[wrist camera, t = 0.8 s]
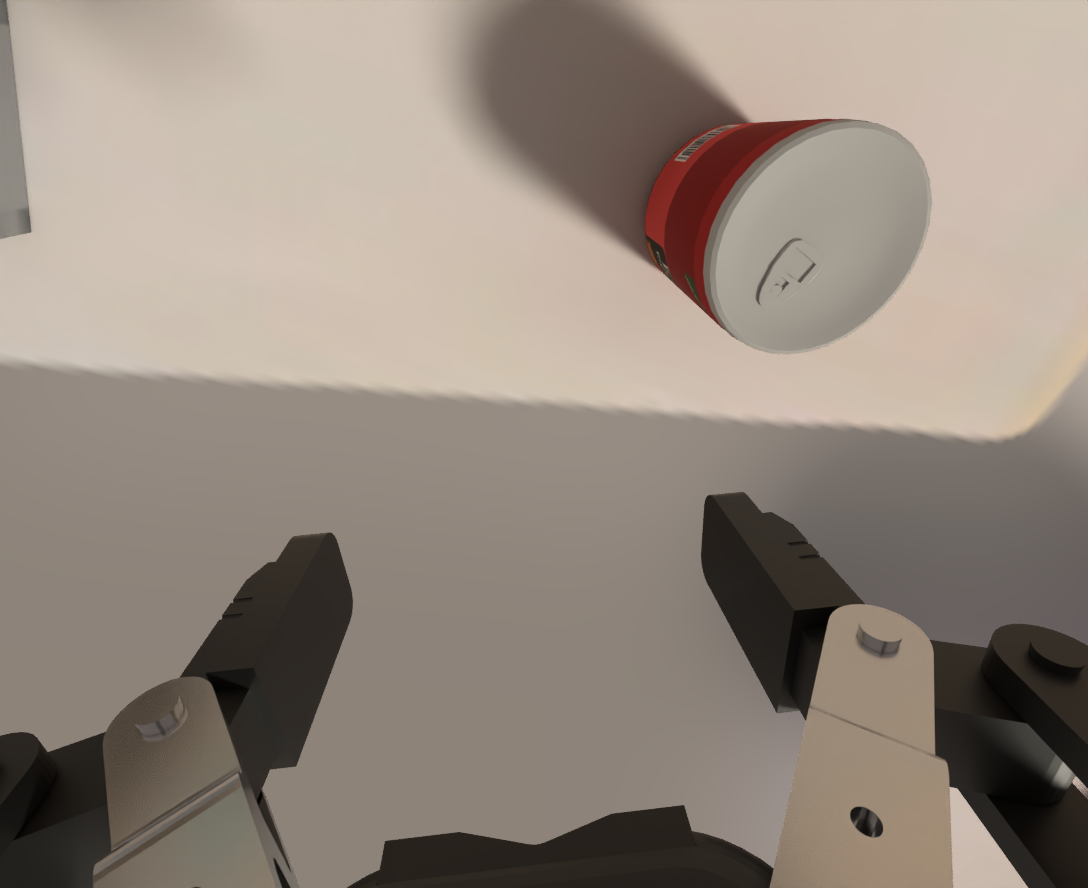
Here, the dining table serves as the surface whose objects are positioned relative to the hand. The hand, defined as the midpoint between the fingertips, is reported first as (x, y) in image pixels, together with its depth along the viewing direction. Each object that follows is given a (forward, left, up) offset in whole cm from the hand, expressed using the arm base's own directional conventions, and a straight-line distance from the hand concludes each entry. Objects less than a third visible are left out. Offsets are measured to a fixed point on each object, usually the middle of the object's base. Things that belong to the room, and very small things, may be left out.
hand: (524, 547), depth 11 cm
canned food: (-8, +9, -21) cm, 24 cm away
